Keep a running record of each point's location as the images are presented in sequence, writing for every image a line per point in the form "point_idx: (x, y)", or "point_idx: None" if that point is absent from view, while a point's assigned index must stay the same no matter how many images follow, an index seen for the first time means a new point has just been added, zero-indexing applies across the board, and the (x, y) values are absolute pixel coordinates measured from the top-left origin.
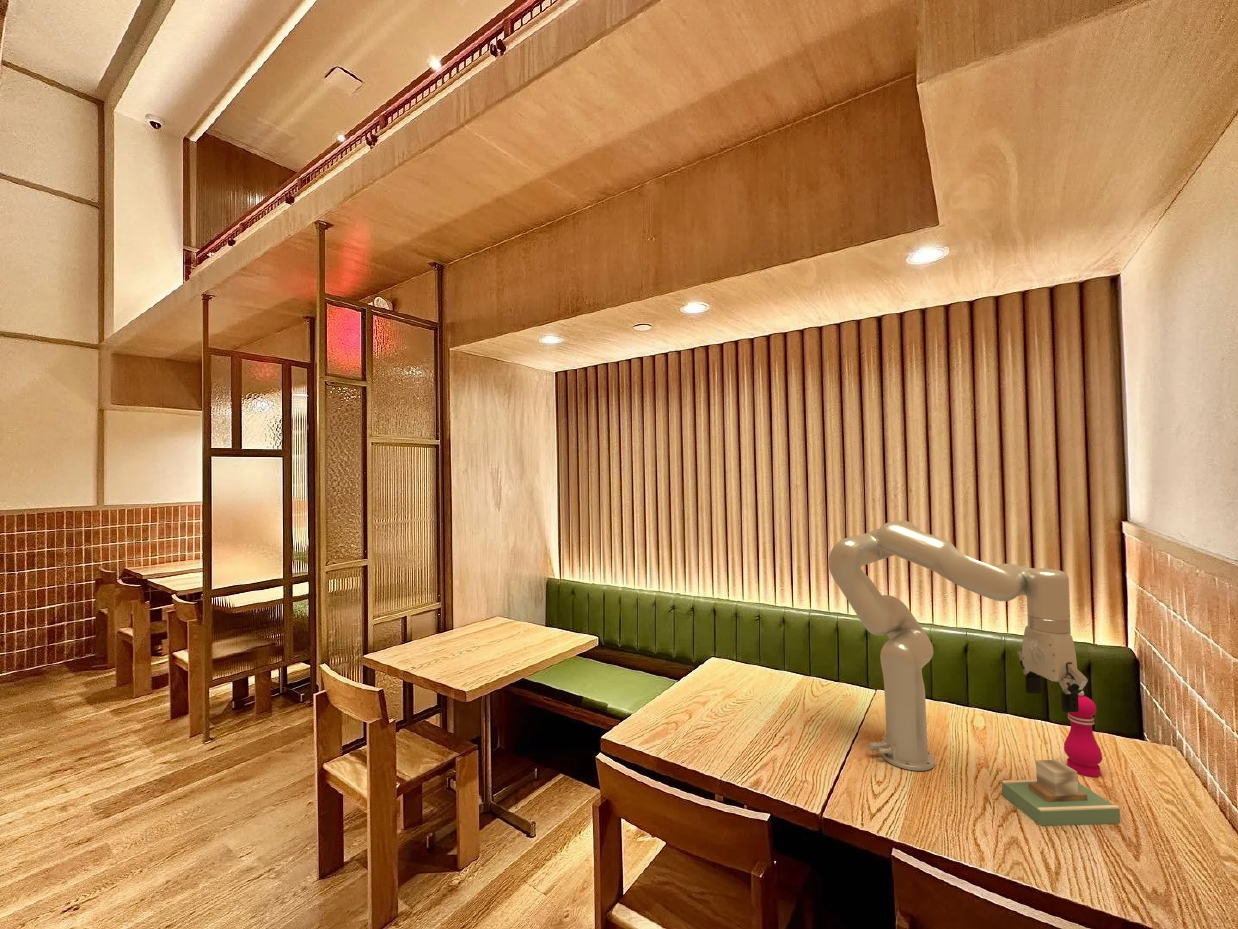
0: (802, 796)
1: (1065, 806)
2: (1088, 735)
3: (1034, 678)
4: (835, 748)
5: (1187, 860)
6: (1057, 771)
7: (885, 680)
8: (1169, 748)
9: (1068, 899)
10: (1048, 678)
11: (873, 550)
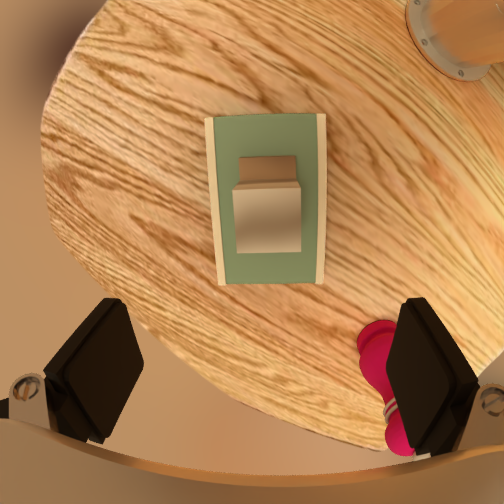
0: None
1: (222, 184)
2: (382, 389)
3: (426, 414)
4: None
5: (140, 286)
6: (237, 202)
7: None
8: (383, 446)
9: (63, 64)
10: (39, 437)
11: None
